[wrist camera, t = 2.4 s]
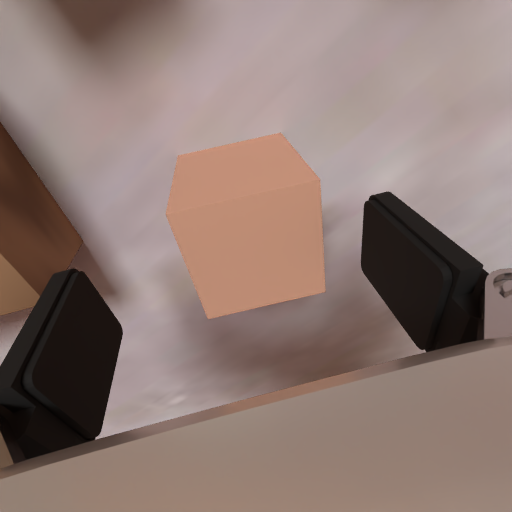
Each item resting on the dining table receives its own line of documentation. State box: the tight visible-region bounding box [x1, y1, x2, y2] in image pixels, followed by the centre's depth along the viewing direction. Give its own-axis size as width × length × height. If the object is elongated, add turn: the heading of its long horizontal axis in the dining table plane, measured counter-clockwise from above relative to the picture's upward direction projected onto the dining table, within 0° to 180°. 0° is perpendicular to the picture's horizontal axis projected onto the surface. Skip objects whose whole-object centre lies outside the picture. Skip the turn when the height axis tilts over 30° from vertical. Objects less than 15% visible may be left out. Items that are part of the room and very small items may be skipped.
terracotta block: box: [166, 133, 325, 319], centre depth 13 cm, size 5×5×6 cm
